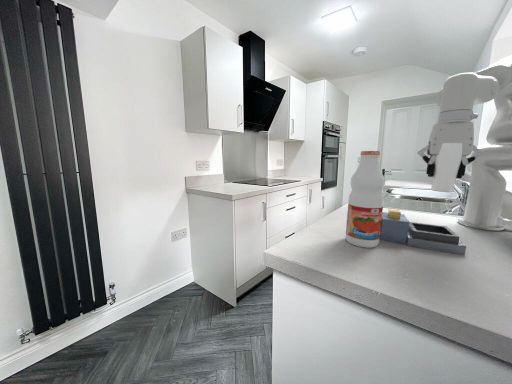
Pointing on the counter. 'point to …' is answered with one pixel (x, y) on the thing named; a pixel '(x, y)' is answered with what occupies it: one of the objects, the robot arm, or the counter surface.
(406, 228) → the grey tray
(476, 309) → the counter surface
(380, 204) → the fruit juice
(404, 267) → the counter surface
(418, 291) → the counter surface
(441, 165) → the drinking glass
